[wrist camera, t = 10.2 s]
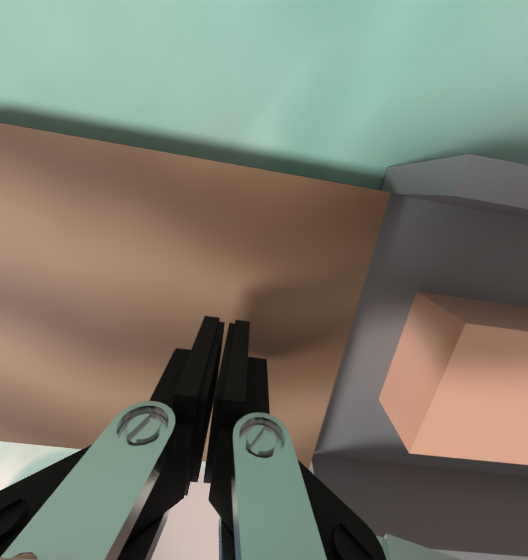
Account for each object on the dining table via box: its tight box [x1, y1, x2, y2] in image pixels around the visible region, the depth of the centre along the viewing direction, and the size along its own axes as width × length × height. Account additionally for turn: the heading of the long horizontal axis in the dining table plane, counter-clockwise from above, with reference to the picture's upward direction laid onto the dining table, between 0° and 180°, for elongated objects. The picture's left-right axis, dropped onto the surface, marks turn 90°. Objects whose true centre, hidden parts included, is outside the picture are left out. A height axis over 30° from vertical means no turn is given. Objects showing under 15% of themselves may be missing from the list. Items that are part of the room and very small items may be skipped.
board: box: [0, 123, 391, 469], centre depth 12 cm, size 14×16×2 cm
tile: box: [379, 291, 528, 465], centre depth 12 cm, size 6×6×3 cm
